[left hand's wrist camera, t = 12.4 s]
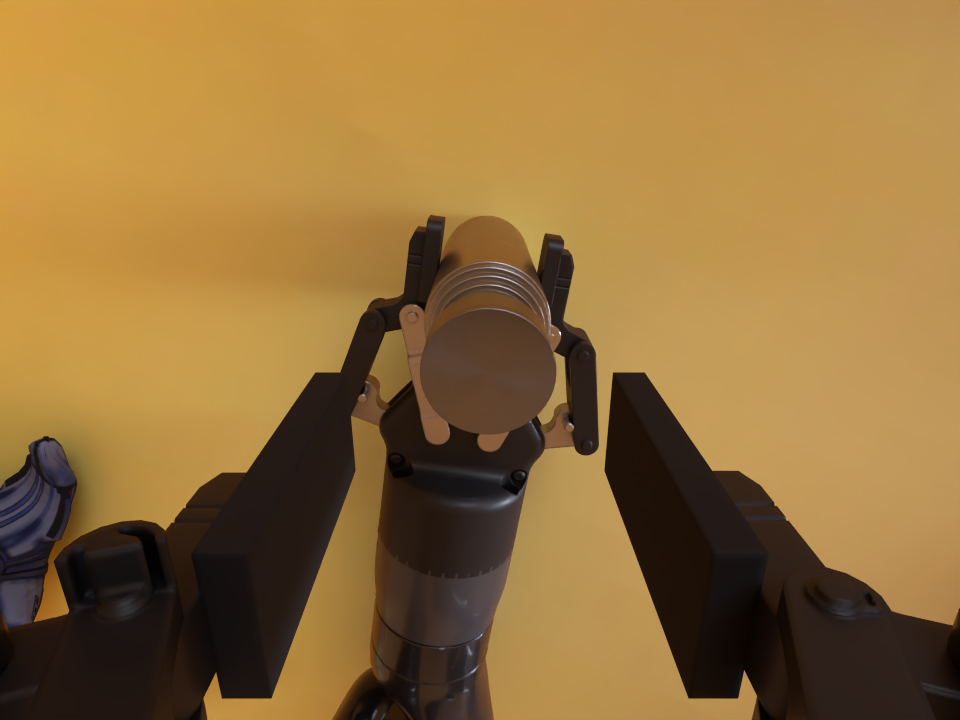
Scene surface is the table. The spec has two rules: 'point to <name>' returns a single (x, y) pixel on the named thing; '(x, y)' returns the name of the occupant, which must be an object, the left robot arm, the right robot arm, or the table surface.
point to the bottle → (486, 269)
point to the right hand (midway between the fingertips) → (495, 229)
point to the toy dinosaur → (32, 527)
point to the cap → (487, 364)
